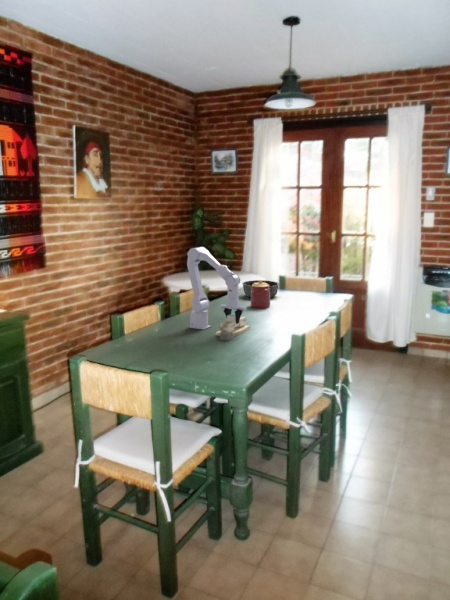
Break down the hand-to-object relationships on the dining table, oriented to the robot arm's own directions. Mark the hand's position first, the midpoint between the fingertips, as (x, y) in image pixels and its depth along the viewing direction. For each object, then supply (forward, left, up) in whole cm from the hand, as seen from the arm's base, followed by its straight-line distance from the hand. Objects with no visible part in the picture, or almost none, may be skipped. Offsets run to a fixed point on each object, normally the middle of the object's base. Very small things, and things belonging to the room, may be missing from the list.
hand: (233, 322), depth 261 cm
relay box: (+4, -14, -5) cm, 15 cm away
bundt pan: (-28, +93, -5) cm, 97 cm away
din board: (0, 0, -5) cm, 5 cm away
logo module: (0, 0, -2) cm, 2 cm away
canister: (-14, +63, -5) cm, 65 cm away
